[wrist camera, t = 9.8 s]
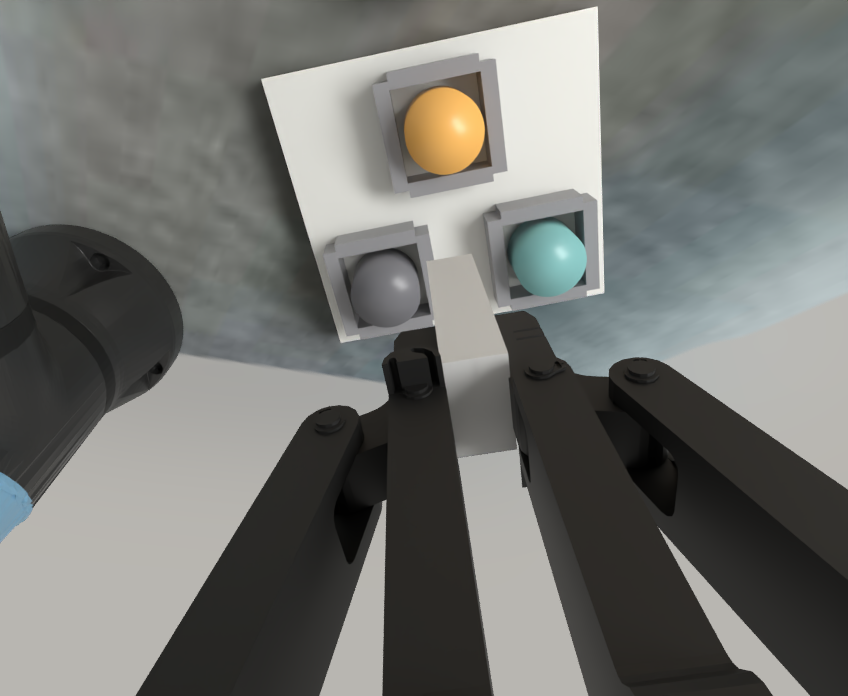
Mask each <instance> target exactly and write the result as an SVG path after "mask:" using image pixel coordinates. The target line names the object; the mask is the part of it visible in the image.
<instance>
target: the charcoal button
mask: <svg viewBox="0 0 848 696" xmlns="http://www.w3.org/2000/svg"><path fill="white" fill-rule="evenodd" d="M351 302H352V305H353V308H354V310H355V311H356V313H357V314H358V315H359V317H360V318H362V319H363V320H364V321H366V322H367V323H369V324H371V325H374V326H377V327H383V328H389V327H395V326H398V325H401V324H403V323H405V322H406V321H408V320H409V319H410V318H411V317H412V316H413V315H414V314H415V312H416V311H417V309H418V306H419V303H420V286H419V277H418V271H417V268H416V265H415V264H414V262H413V260H412V259H411V258H410V257H409V256H408V255H407V254H405V253H404V252H402V251H400V250H398V249H394V248H389V249H384V250H379V251H374V252H369V253H366V254H365V255H364V256H363V257H362V258H361V259H360V260H359V262H358V263H357V265H356V268H355V272H354V277H353V282H352V288H351Z"/></svg>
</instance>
